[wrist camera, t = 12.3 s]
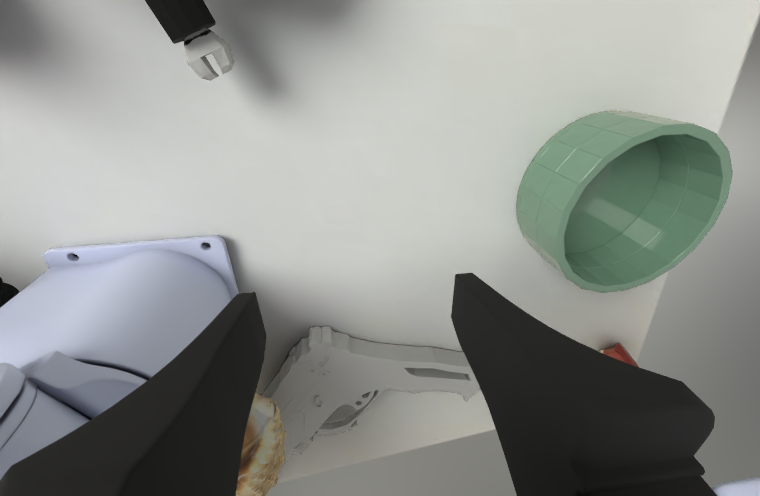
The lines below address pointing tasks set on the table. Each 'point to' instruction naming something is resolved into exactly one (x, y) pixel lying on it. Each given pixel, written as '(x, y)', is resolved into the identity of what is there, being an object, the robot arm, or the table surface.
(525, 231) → the bowl
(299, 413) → the toy gun
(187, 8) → the robot toy
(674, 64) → the table surface
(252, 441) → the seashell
